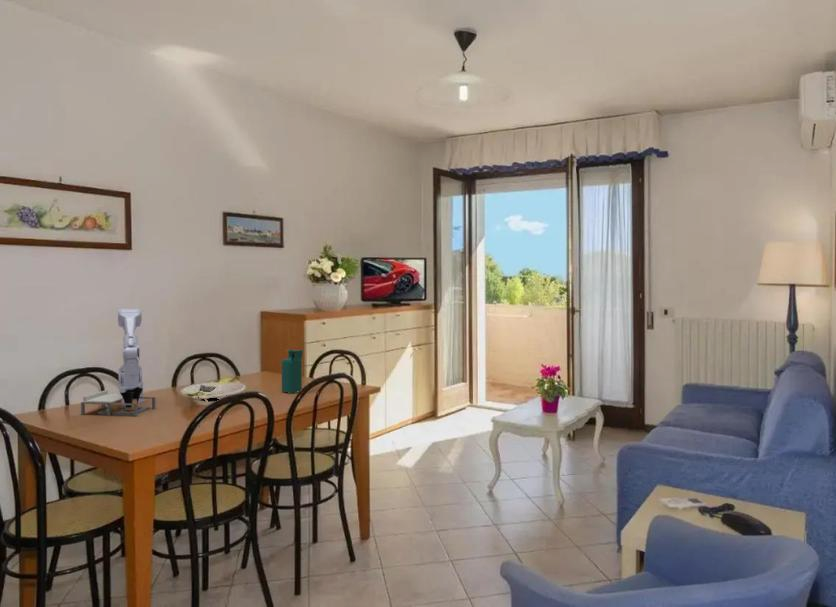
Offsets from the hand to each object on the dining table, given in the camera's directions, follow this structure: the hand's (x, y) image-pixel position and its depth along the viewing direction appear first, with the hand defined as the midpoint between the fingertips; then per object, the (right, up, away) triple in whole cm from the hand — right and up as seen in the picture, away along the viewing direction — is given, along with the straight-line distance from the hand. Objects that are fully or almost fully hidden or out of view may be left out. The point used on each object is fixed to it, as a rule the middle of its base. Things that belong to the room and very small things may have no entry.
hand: (131, 406), depth 256 cm
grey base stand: (-6, -3, +1) cm, 6 cm away
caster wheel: (+25, -2, +30) cm, 39 cm away
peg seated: (-7, -2, +1) cm, 7 cm away
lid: (-10, +3, +1) cm, 11 cm away
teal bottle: (+59, -2, +51) cm, 78 cm away
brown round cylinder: (0, -2, 0) cm, 2 cm away
